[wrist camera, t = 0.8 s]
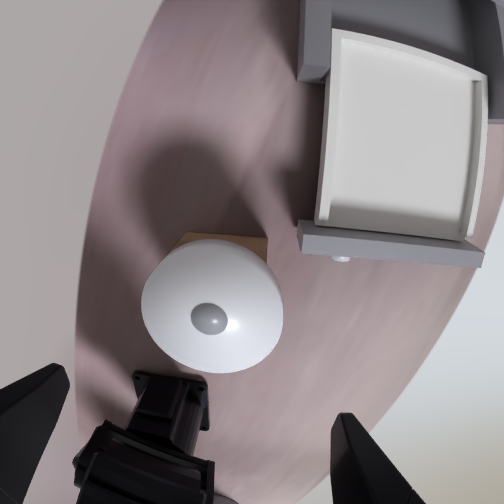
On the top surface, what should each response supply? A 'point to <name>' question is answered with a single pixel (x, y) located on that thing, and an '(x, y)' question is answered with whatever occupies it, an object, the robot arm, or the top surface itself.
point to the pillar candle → (222, 500)
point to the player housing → (411, 35)
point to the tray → (398, 155)
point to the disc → (213, 306)
